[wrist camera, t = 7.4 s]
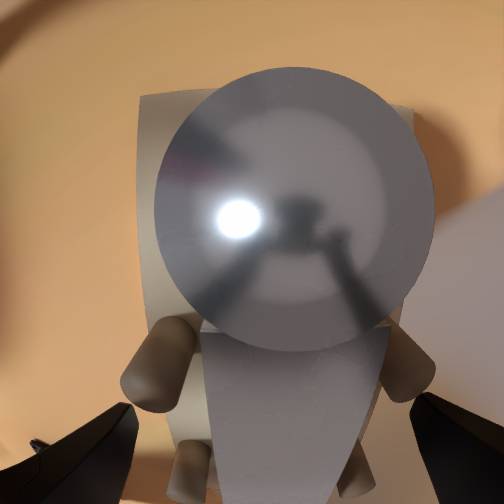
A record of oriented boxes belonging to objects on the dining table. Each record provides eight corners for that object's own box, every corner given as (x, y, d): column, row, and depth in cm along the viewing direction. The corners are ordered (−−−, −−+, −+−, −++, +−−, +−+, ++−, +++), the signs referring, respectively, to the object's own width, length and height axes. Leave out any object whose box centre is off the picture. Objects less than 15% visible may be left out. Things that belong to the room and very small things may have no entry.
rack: (338, 472, 12) (351, 519, 9) (190, 476, 12) (181, 525, 8) (402, 114, 8) (467, 87, 4) (148, 102, 8) (95, 61, 4)
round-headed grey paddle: (309, 476, 11) (320, 533, 7) (221, 479, 11) (216, 537, 7) (357, 129, 8) (430, 93, 4) (199, 122, 8) (158, 71, 4)
